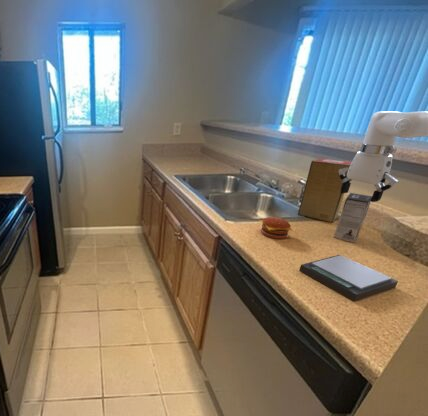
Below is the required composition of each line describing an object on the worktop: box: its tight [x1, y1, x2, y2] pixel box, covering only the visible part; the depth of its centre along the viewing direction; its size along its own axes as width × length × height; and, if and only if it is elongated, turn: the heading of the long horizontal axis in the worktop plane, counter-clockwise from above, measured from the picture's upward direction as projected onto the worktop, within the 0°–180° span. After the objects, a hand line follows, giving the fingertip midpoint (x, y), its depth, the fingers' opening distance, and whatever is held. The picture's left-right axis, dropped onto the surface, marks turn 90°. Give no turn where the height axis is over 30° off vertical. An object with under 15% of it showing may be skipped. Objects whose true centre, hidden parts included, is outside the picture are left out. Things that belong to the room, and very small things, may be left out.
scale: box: [299, 254, 399, 302], centre depth 80 cm, size 15×17×3 cm
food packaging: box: [297, 157, 352, 224], centre depth 120 cm, size 13×9×25 cm
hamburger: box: [259, 216, 294, 240], centre depth 107 cm, size 9×10×7 cm
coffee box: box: [333, 192, 373, 243], centre depth 102 cm, size 9×6×16 cm
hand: (358, 197), depth 100 cm, fingers open, 9 cm apart
